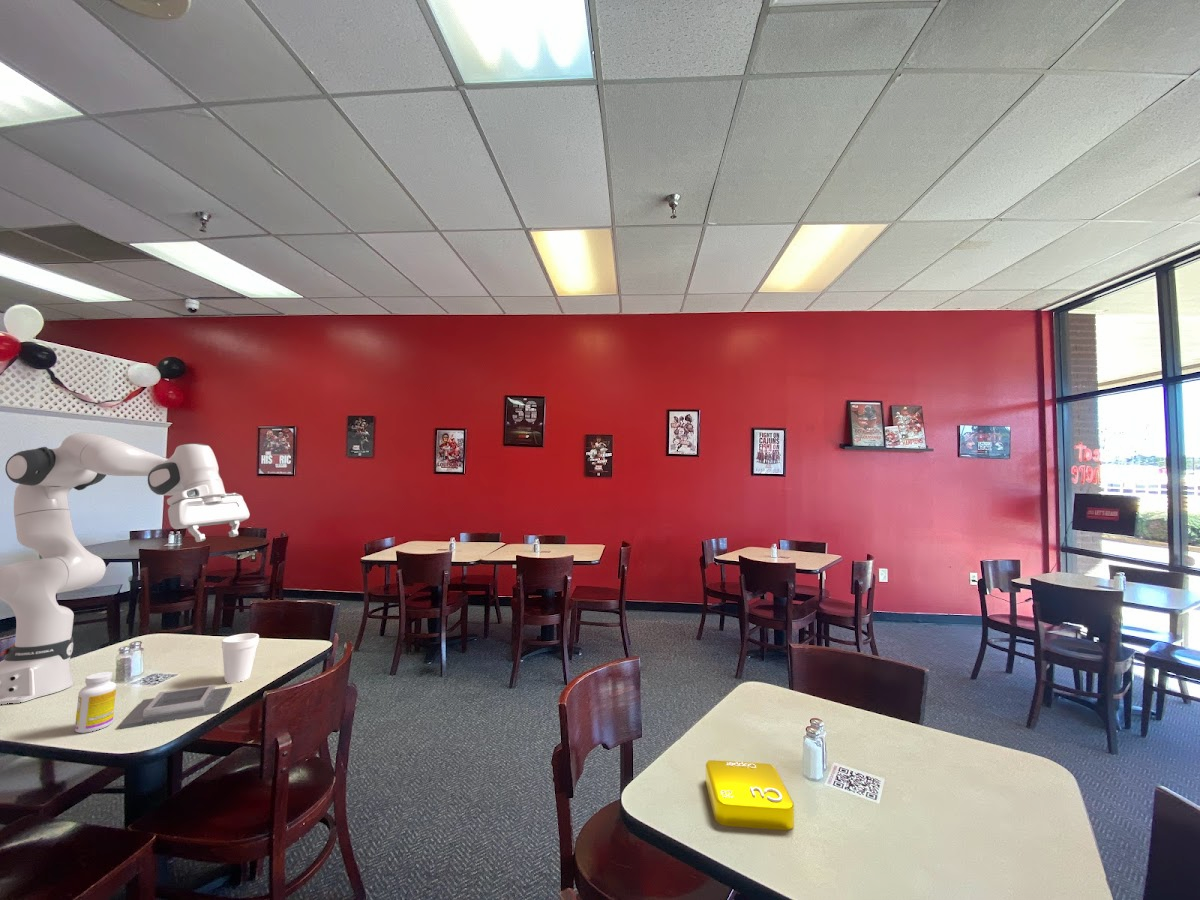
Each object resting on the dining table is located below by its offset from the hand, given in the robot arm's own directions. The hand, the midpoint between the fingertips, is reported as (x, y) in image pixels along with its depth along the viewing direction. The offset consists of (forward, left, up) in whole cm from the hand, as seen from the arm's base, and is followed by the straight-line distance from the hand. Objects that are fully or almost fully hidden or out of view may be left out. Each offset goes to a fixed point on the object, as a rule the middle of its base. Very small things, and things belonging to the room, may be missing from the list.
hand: (218, 538), depth 137 cm
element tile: (+107, -102, -47) cm, 155 cm away
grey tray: (-5, -1, -46) cm, 47 cm away
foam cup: (+5, +16, -47) cm, 50 cm away
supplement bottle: (-21, -5, -47) cm, 51 cm away
